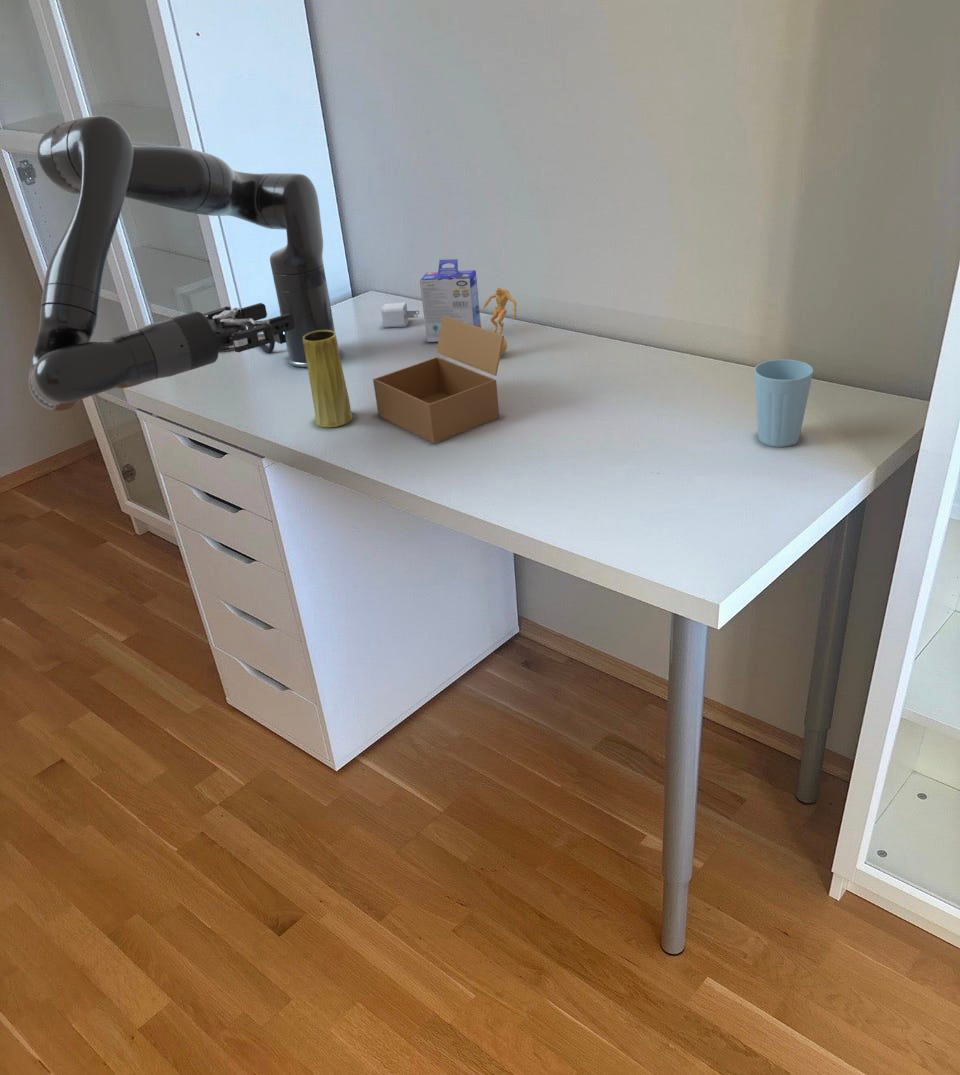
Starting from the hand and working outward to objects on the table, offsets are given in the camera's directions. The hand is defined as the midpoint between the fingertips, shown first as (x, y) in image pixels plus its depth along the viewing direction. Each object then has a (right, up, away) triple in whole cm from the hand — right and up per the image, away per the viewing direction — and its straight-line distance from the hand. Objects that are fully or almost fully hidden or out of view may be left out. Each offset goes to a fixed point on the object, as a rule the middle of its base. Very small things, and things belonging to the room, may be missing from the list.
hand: (278, 315), depth 147 cm
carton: (+23, -14, +10) cm, 29 cm away
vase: (+6, -14, +13) cm, 20 cm away
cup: (+72, -19, -7) cm, 75 cm away
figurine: (+34, 0, +32) cm, 47 cm away
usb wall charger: (+14, +10, +52) cm, 55 cm away
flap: (+28, -3, +9) cm, 30 cm away
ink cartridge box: (+25, +5, +42) cm, 49 cm away
